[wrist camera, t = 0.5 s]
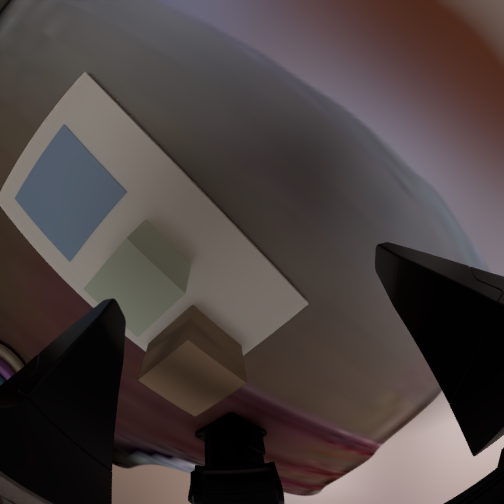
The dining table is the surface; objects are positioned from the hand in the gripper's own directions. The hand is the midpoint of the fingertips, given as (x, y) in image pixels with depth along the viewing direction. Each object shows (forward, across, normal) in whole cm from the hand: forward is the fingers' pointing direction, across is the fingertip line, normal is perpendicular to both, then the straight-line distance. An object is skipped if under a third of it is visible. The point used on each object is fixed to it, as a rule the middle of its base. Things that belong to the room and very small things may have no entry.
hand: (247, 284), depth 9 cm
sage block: (+12, +8, +4) cm, 15 cm away
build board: (+13, +8, +3) cm, 16 cm away
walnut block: (+11, +6, +13) cm, 18 cm away
